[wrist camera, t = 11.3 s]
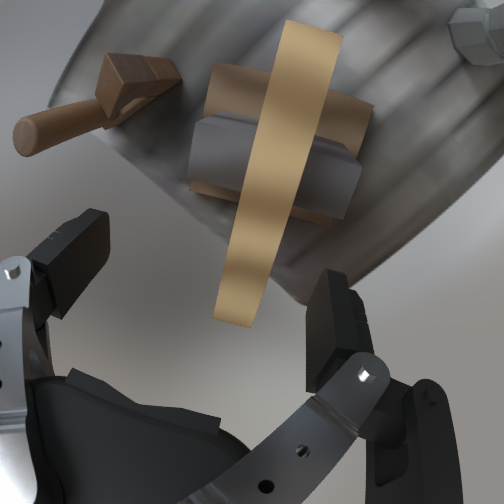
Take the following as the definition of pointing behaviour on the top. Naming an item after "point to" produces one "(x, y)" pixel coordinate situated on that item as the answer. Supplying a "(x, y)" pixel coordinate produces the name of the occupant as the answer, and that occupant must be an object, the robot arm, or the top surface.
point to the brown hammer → (99, 102)
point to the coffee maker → (479, 34)
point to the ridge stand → (243, 134)
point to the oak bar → (276, 165)
